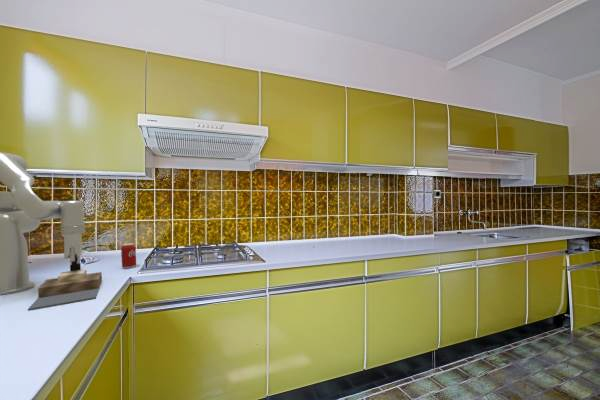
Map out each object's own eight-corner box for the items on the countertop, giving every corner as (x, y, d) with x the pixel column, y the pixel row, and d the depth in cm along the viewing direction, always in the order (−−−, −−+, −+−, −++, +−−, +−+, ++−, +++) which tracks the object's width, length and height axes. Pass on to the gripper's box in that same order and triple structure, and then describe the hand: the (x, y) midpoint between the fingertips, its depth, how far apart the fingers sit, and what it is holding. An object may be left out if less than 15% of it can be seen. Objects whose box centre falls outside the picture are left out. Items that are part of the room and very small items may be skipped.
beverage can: (134, 268, 142) (133, 244, 142) (120, 269, 141) (119, 245, 140) (137, 265, 148) (136, 242, 148) (124, 266, 147) (123, 243, 146)
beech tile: (58, 283, 108) (57, 276, 108) (62, 278, 114) (61, 272, 114) (84, 279, 112) (83, 273, 112) (86, 274, 118) (86, 269, 118)
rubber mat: (28, 310, 92) (28, 308, 92) (37, 299, 102) (37, 298, 102) (95, 298, 101) (95, 297, 101) (98, 289, 111) (98, 288, 111)
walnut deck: (38, 298, 103) (38, 288, 102) (47, 289, 113) (46, 279, 113) (98, 289, 112) (98, 279, 112) (101, 281, 122) (101, 272, 122)
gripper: (65, 229, 122) (67, 271, 122) (57, 233, 109) (60, 279, 110) (86, 227, 126) (88, 268, 126) (82, 231, 113) (84, 276, 113)
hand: (75, 273), depth 118 cm, fingers closed
